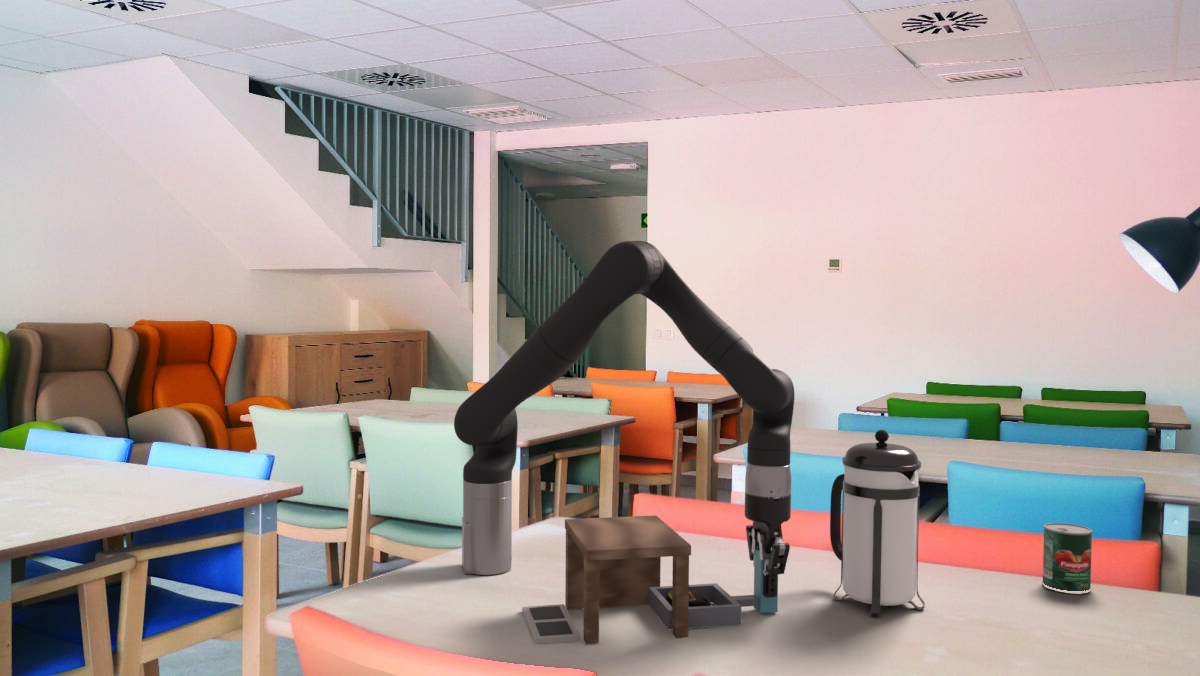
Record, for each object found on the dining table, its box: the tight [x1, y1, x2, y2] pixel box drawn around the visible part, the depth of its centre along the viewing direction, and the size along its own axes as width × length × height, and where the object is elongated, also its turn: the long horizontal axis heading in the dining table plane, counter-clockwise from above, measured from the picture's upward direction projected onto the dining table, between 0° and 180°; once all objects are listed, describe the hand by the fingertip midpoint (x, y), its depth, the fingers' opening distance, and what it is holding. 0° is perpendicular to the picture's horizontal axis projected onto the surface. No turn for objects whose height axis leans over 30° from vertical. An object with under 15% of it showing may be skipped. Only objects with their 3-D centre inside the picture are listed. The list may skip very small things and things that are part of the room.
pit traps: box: [521, 603, 582, 645], centre depth 148 cm, size 7×15×1 cm, turn 12°
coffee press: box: [829, 429, 925, 618], centre depth 160 cm, size 17×16×30 cm
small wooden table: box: [564, 515, 692, 645], centre depth 151 cm, size 16×20×14 cm
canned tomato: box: [1042, 522, 1093, 591], centre depth 170 cm, size 8×8×11 cm
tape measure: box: [665, 590, 712, 607], centre depth 153 cm, size 7×7×4 cm
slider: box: [648, 547, 779, 630], centre depth 154 cm, size 20×12×10 cm, turn 102°
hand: (765, 592), depth 156 cm, fingers closed on slider, 3 cm apart
